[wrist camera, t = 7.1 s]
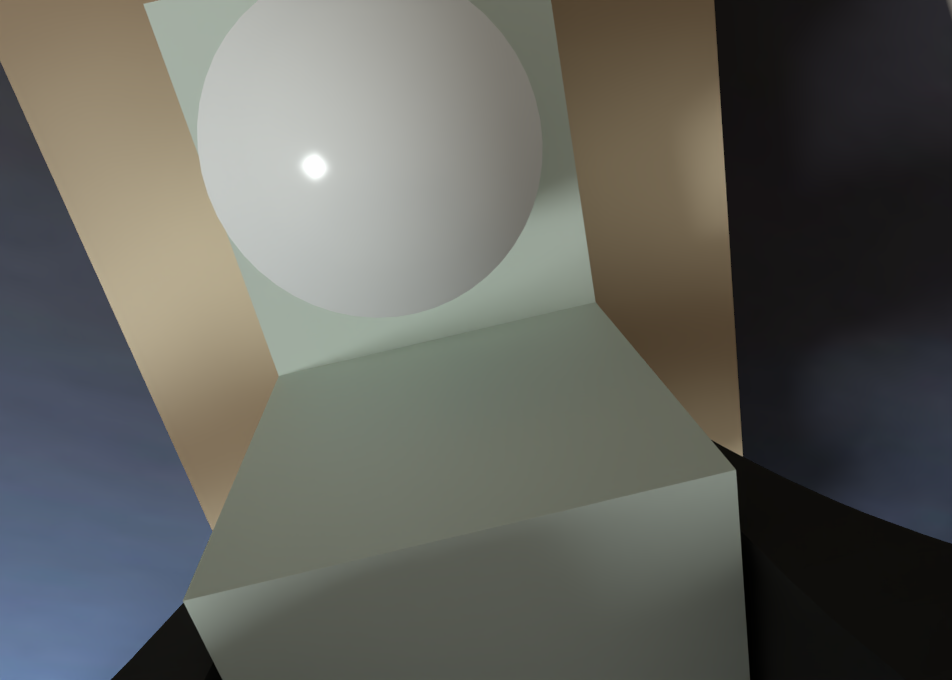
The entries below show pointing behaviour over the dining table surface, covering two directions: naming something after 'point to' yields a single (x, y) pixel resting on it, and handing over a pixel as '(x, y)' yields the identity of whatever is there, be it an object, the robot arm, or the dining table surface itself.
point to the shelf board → (215, 266)
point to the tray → (437, 367)
